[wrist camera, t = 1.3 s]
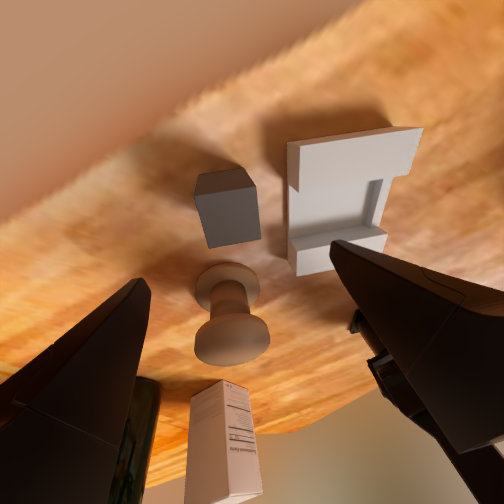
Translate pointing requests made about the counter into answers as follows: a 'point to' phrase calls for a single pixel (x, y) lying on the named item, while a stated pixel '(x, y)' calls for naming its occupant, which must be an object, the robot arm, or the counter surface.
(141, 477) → the wine bottle
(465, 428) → the robot arm
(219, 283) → the bobbin
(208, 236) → the block
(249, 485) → the supplement box
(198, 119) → the counter surface
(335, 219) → the notched board
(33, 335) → the counter surface
